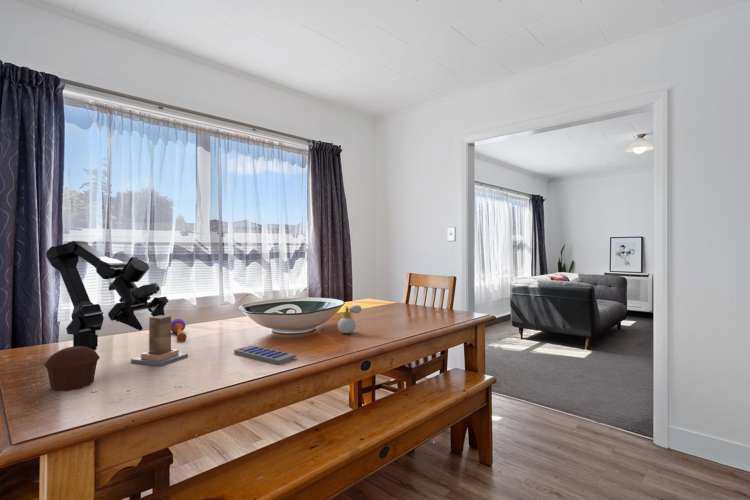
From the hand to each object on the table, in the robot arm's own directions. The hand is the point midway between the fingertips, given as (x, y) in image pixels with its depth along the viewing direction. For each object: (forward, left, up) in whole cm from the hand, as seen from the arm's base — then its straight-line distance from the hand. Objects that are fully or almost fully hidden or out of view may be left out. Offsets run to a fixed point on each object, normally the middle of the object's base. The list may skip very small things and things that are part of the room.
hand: (153, 326), depth 127 cm
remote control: (+30, -20, -11) cm, 37 cm away
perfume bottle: (+72, -10, -11) cm, 74 cm away
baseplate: (+1, -2, -10) cm, 11 cm away
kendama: (+15, +28, -11) cm, 34 cm away
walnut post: (+1, -2, -9) cm, 10 cm away
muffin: (-22, -13, -11) cm, 27 cm away
